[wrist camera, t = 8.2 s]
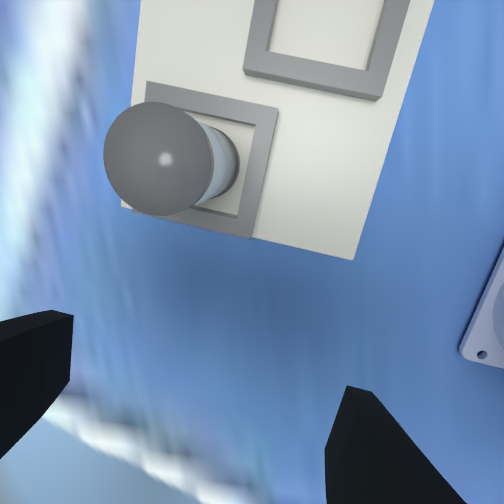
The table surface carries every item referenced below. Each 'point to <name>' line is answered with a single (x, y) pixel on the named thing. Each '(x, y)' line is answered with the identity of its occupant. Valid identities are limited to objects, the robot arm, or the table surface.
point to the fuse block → (286, 105)
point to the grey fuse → (167, 159)
